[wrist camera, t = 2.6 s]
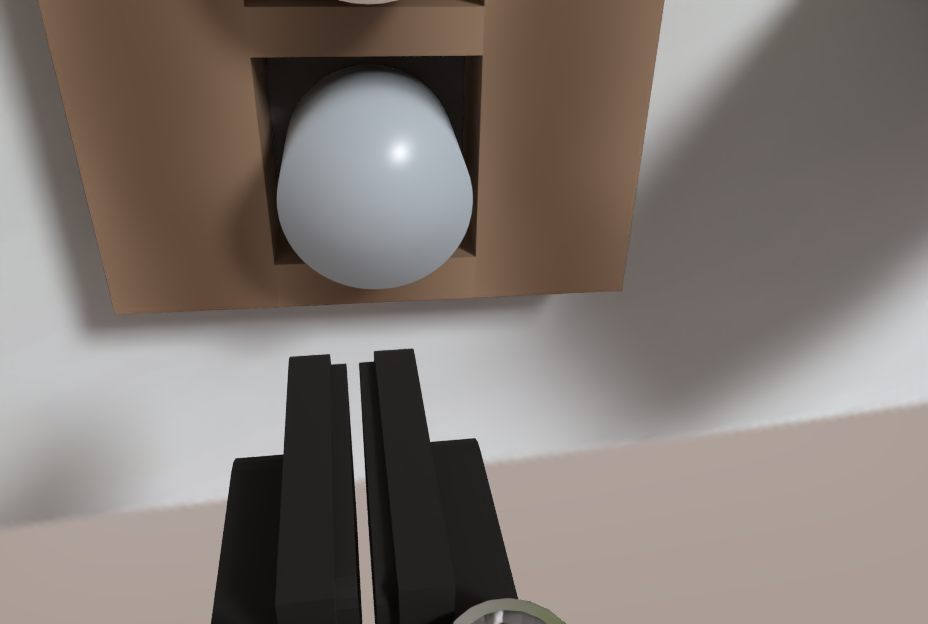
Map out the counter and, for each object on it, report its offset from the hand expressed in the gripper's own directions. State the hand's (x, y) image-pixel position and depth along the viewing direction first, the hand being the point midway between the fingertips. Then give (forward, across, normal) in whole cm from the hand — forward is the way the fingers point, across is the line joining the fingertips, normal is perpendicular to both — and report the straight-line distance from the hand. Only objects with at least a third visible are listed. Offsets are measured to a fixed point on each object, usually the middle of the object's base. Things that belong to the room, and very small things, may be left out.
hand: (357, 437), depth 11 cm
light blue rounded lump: (+12, -1, 0) cm, 12 cm away
